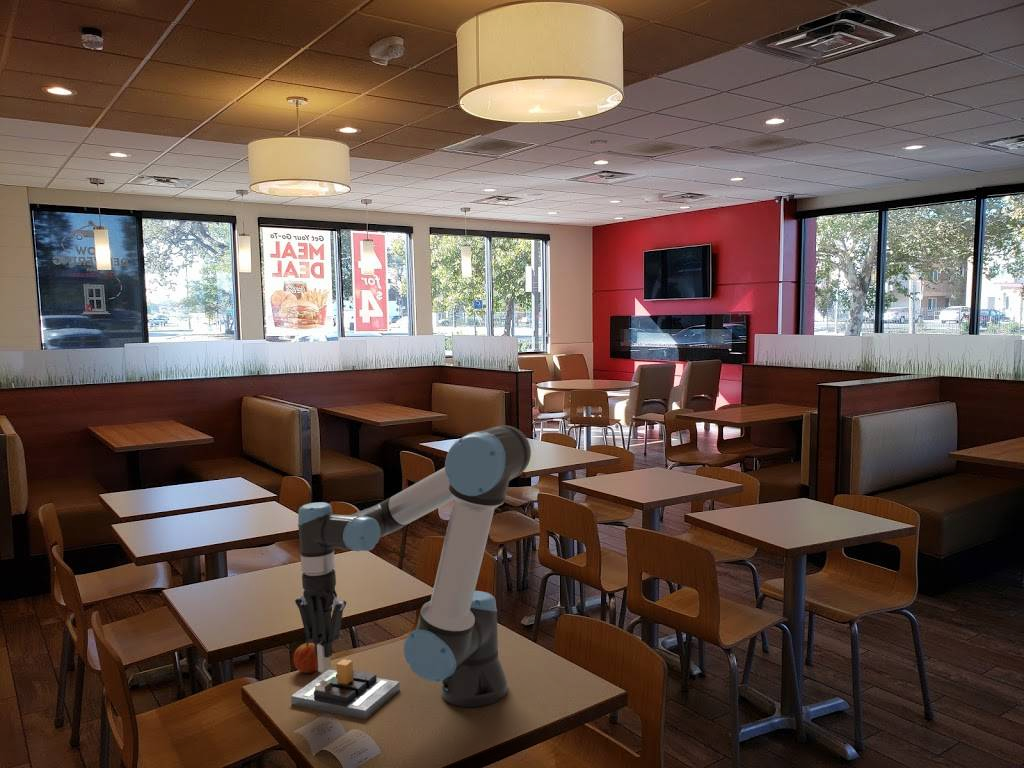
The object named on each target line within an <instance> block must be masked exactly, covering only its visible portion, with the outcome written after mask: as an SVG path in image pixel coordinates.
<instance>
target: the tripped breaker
mask: <svg viewBox="0 0 1024 768" xmlns="http://www.w3.org/2000/svg"><path fill="white" fill-rule="evenodd" d="M353 670H354V662H353V660H350V659H346V658H345V659H344V658H343V659H341V660H340V661H339V662H337V663H336V671H337V683H341V684H346V685H347V684H348V683H350V682H351V681H352V680H354V677H353Z"/></svg>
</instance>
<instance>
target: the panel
mask: <svg viewBox="0 0 1024 768" xmlns="http://www.w3.org/2000/svg"><path fill="white" fill-rule="evenodd" d="M353 677H354V680H352V681H351V682H350V683H348V684H347V685H346V684H341V683H337V669H336V670H335V669H331V668H330V669H328V670H327V671H325V672H324V673H323V672H322V674H320V675H318V677H316V678H314V679H313V680H312V681H310V682H309V683H308V684H306V685H304V686H303V687H301V688H299V690H298V691H296V692H294V693H293V694H292V695H290V699H291V700H290V701H291V703H290V704H291V705H292V704H293V705H292V706H297V707H303V708H308V709H312V710H317V711H322V712H327V713H332V714H336V715H342V716H346V717H351V718H357V719H362V720H367V719H368V718H369V717H370V716H371V715H373V714H374V713H375V712H376V711H377V710H379V709H380V708H382V706H384V705H385V704H386V703H387V702H388V701H389V700H390V699H391V698H393V697H394V695H396V694H397V693H398V692H400V690H401V685H400V681H397V680H391V679H387V678H380V677H377V673H371V672H367V671H365V672H364V671H360V670H354V669H353Z"/></svg>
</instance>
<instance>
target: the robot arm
mask: <svg viewBox="0 0 1024 768" xmlns="http://www.w3.org/2000/svg"><path fill="white" fill-rule="evenodd" d="M531 454H532V450H531V445H530V442H529V440H528V438H527V436H526V435H525V434H524V433H523V431H521V430H519V428H518V429H517V427H514V426H512V425H504V424H503V425H502V424H501V425H497V426H496V425H495V426H493V427H490V428H487V429H483V430H479V431H474V432H473V431H472V432H469V433H467V434H466V435H464V436H463V437H461V438H459V439H458V440H456V441H455V442H454V443H453V444H452V446H450V448H449V449H448V451H447V455H446V458H445V462H444V467H443V468H441V469H439V470H437V471H436V472H434V473H431V474H430V475H427V477H424V478H422V479H421V480H420V481H418V482H416V483H413V484H412V485H410V486H408V487H407V488H405V489H403V490H401V491H399V492H397V493H396V494H394V495H392V496H391V497H388V498H387V499H385V500H383V501H381V502H379V503H377V504H375V505H373V506H371V507H367V508H364V509H363V510H360V511H356V512H354V513H351V514H337V513H333V510H332V509H333V508H332V505H331V504H330V503H328V502H323V501H321V502H320V501H319V502H310V503H306V504H303V505H302V506H300V507H299V508H298V513H297V514H298V515H297V516H298V519H297V520H298V523H297V527H298V535H299V546H300V568H301V569H300V570H301V572H302V574H301V582H302V585H301V586H302V589H303V593H302V594H303V595H301V596H299V597H298V598H296V599H295V602H294V603H295V604H296V606H297V608H298V611H299V614H300V617H301V622H302V625H303V630H304V632H305V633H304V634H305V636H306V637H305V638H306V639H307V641H309V640H311V641H312V643H314V644H315V655H316V656H318V669H317V670H318V672H319V673H322V674H323V673H324V672H326V671H327V670H329V669H330V670H331V668H332V665H331V663H332V661H331V657H332V655H333V644H332V643H334V642H336V641H337V640H339V638H340V635H341V626H342V622H343V621H342V619H343V613H344V609H345V607H346V605H347V601H346V600H340V598H338V594H337V592H336V589H335V588H336V585H337V578H336V577H337V576H336V569H335V568H336V567H335V566H336V565H335V564H336V563H335V562H336V561H335V549H339V550H349V551H353V552H369V551H371V550H373V549H374V548H375V547H376V545H377V544H378V543H379V540H380V538H383V537H385V536H387V535H389V534H392V533H395V532H397V531H399V530H401V529H402V528H403V527H405V526H407V525H408V524H410V523H412V522H414V521H416V520H418V519H420V518H422V517H424V516H426V515H427V514H429V513H431V512H433V511H435V510H437V509H439V508H441V507H443V506H445V505H447V504H448V503H451V502H452V506H451V510H450V515H449V520H448V523H447V528H446V533H445V537H444V540H443V544H442V545H443V546H442V550H441V554H440V557H439V558H440V559H439V563H438V566H437V571H436V575H435V580H434V584H433V589H432V592H431V598H430V600H429V601H427V602H425V603H424V604H423V605H422V607H421V609H420V613H419V616H418V621H417V625H416V626H417V627H416V628H415V630H414V629H413V630H412V631H410V633H409V634H408V635H407V636H406V639H405V641H404V644H403V654H404V658H405V661H406V663H407V664H408V665H409V668H410V669H411V670H412V672H413V673H414V675H416V676H418V677H419V678H421V679H422V680H424V681H427V682H431V683H439V682H441V685H440V686H441V696H442V698H443V700H444V701H446V702H447V703H449V704H451V705H453V706H456V707H461V708H462V707H464V708H480V707H484V706H485V707H486V706H489V705H492V704H495V703H497V702H498V701H500V700H502V699H503V698H504V697H505V696H506V694H507V693H508V680H507V676H506V674H505V671H504V668H503V666H502V663H501V661H500V658H499V644H498V643H499V639H498V609H497V603H496V602H497V601H496V598H495V596H493V595H492V594H491V593H489V592H486V591H481V590H476V587H477V583H478V578H479V575H480V570H481V567H482V566H481V565H482V563H483V560H484V559H483V558H484V554H485V549H486V546H487V541H488V537H489V534H490V528H491V526H492V520H493V516H494V513H495V509H496V508H499V506H502V505H504V503H505V500H506V495H507V492H508V491H507V490H508V488H509V483H510V481H512V480H513V479H515V478H517V477H519V476H521V474H522V473H524V471H525V470H526V469H527V468H528V466H529V464H530V462H531V456H532V455H531Z"/></svg>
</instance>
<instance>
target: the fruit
mask: <svg viewBox="0 0 1024 768" xmlns="http://www.w3.org/2000/svg"><path fill="white" fill-rule="evenodd" d="M293 665H294V667H295V669H296V670H298V671H299V672H301V673H303V674H311V673H313V672H315V671H317V670H318V656H316V655H315V644H314V642H309V640H306V643H303V644H301V645H299V646H298V647H297V648H296V649H295V651H294V654H293Z"/></svg>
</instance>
